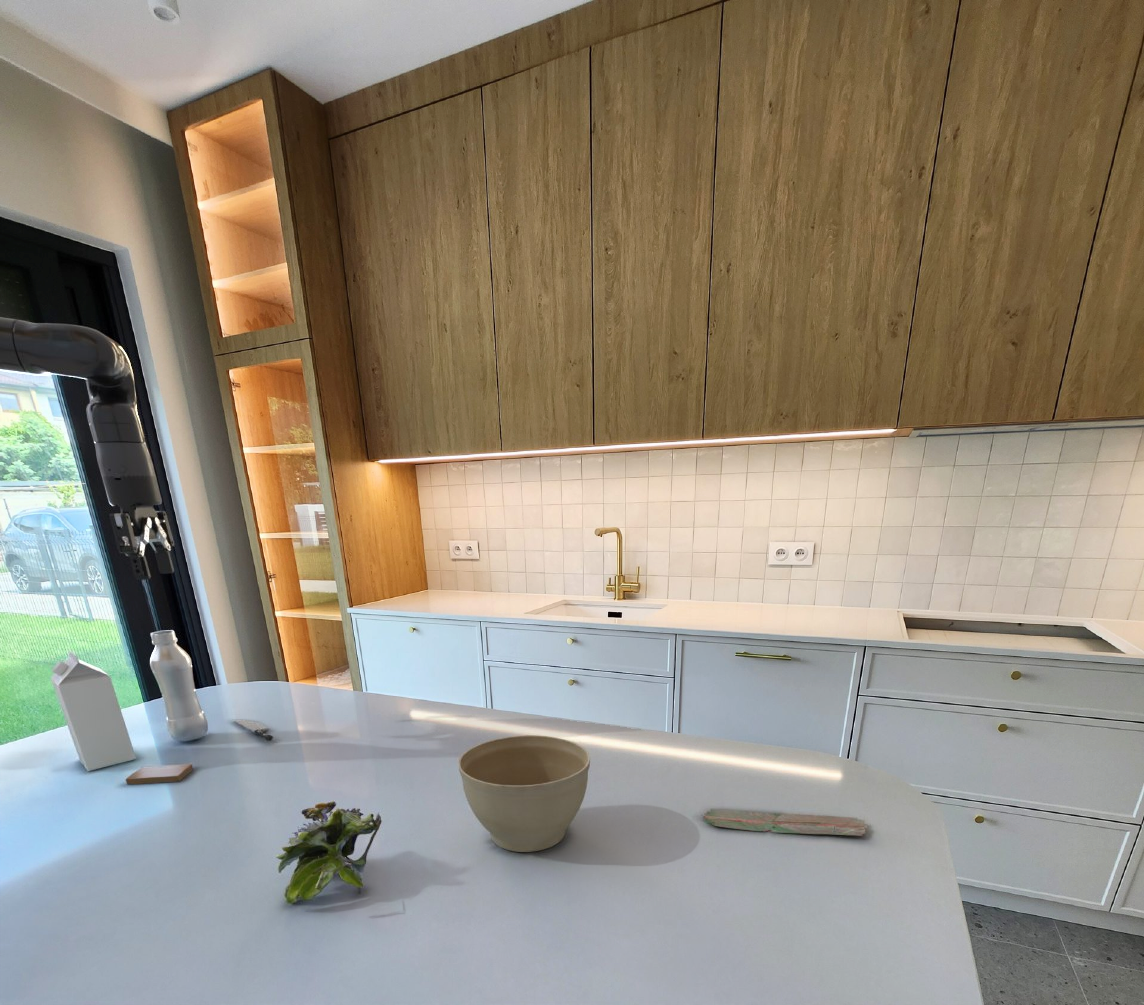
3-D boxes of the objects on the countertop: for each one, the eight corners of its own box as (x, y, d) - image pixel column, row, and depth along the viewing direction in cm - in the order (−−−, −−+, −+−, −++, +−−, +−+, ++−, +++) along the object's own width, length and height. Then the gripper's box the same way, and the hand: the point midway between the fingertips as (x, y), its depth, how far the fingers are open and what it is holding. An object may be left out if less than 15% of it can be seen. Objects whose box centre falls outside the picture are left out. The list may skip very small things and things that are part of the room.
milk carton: (126, 749, 118) (93, 645, 110) (136, 759, 113) (102, 651, 105) (79, 761, 113) (41, 653, 106) (88, 772, 108) (48, 660, 101)
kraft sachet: (127, 784, 103) (125, 779, 103) (143, 772, 108) (141, 766, 107) (179, 781, 104) (177, 775, 103) (193, 769, 108) (191, 763, 108)
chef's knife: (247, 717, 133) (232, 720, 131) (246, 712, 132) (231, 715, 130) (284, 739, 120) (268, 742, 118) (283, 733, 120) (267, 736, 118)
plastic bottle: (163, 744, 119) (131, 636, 112) (188, 732, 125) (160, 628, 118) (194, 746, 118) (164, 636, 110) (218, 733, 124) (191, 628, 117)
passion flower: (338, 905, 80) (364, 810, 82) (389, 923, 73) (416, 819, 75) (248, 894, 72) (280, 789, 74) (297, 913, 65) (330, 796, 67)
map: (702, 812, 89) (702, 806, 89) (862, 817, 84) (863, 811, 84) (700, 830, 85) (700, 824, 84) (870, 836, 80) (870, 830, 80)
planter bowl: (527, 884, 74) (522, 798, 69) (440, 839, 84) (431, 761, 80) (617, 831, 84) (616, 753, 80) (530, 796, 95) (526, 726, 90)
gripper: (127, 475, 113) (153, 572, 119) (78, 473, 100) (110, 582, 106) (172, 474, 113) (195, 571, 120) (130, 472, 100) (158, 580, 107)
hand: (155, 576), depth 113 cm, fingers open, 8 cm apart
